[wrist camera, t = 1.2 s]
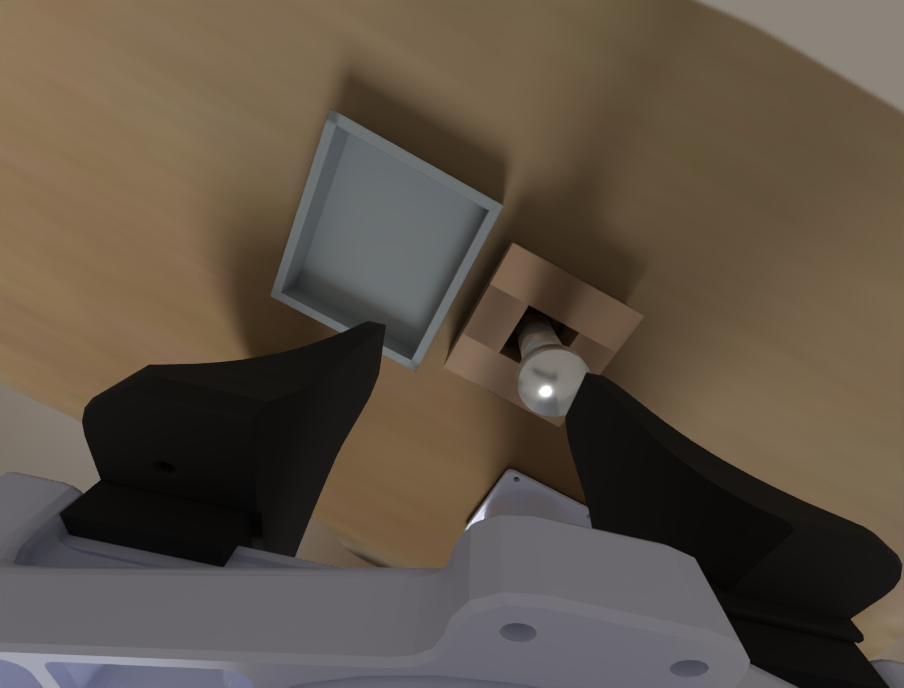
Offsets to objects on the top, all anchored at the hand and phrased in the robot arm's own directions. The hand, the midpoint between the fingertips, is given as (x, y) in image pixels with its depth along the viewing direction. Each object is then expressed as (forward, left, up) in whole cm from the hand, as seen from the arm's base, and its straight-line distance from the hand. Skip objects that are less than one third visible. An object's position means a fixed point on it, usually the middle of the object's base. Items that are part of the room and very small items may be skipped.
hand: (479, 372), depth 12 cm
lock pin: (-4, 0, -13) cm, 14 cm away
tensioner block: (-4, 0, -13) cm, 14 cm away
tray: (+7, 0, -13) cm, 15 cm away
